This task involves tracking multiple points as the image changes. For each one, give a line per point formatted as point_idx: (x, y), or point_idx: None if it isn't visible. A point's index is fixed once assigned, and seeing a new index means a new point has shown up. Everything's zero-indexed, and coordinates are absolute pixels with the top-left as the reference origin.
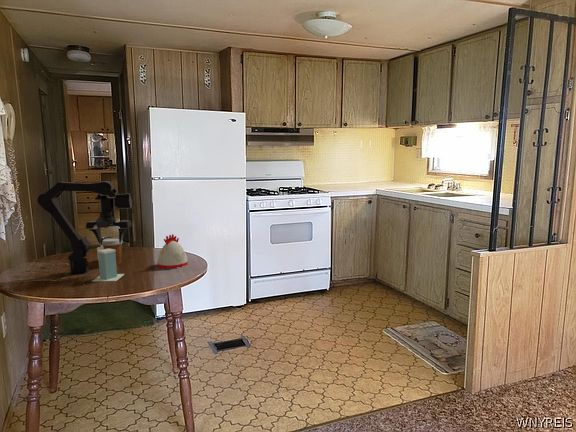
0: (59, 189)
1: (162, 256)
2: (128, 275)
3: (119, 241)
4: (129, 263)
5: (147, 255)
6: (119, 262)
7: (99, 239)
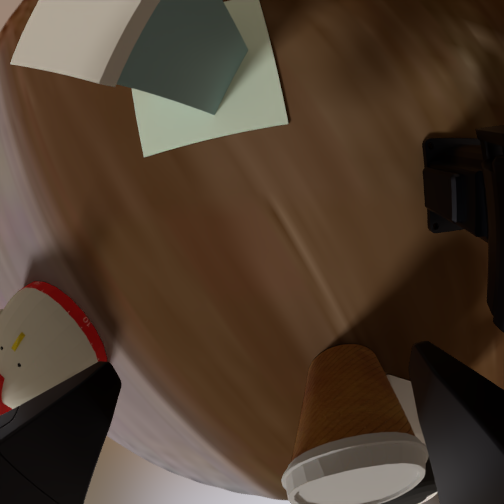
0: None
1: (26, 323)
2: (114, 144)
3: (94, 369)
4: (255, 374)
5: (247, 457)
6: (308, 373)
7: (437, 388)
